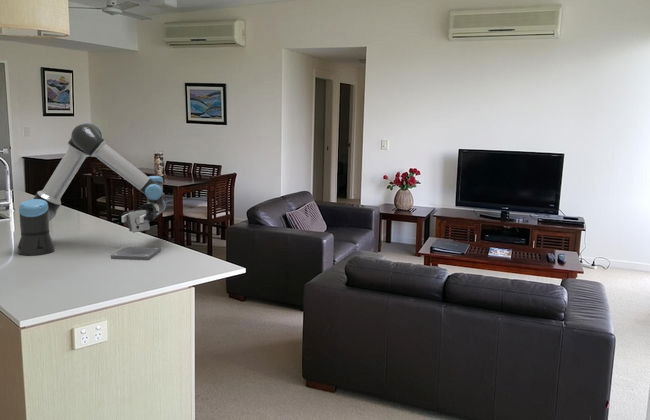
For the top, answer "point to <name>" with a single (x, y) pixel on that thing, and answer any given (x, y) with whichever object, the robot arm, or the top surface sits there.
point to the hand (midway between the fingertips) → (131, 219)
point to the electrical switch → (137, 221)
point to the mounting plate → (135, 253)
